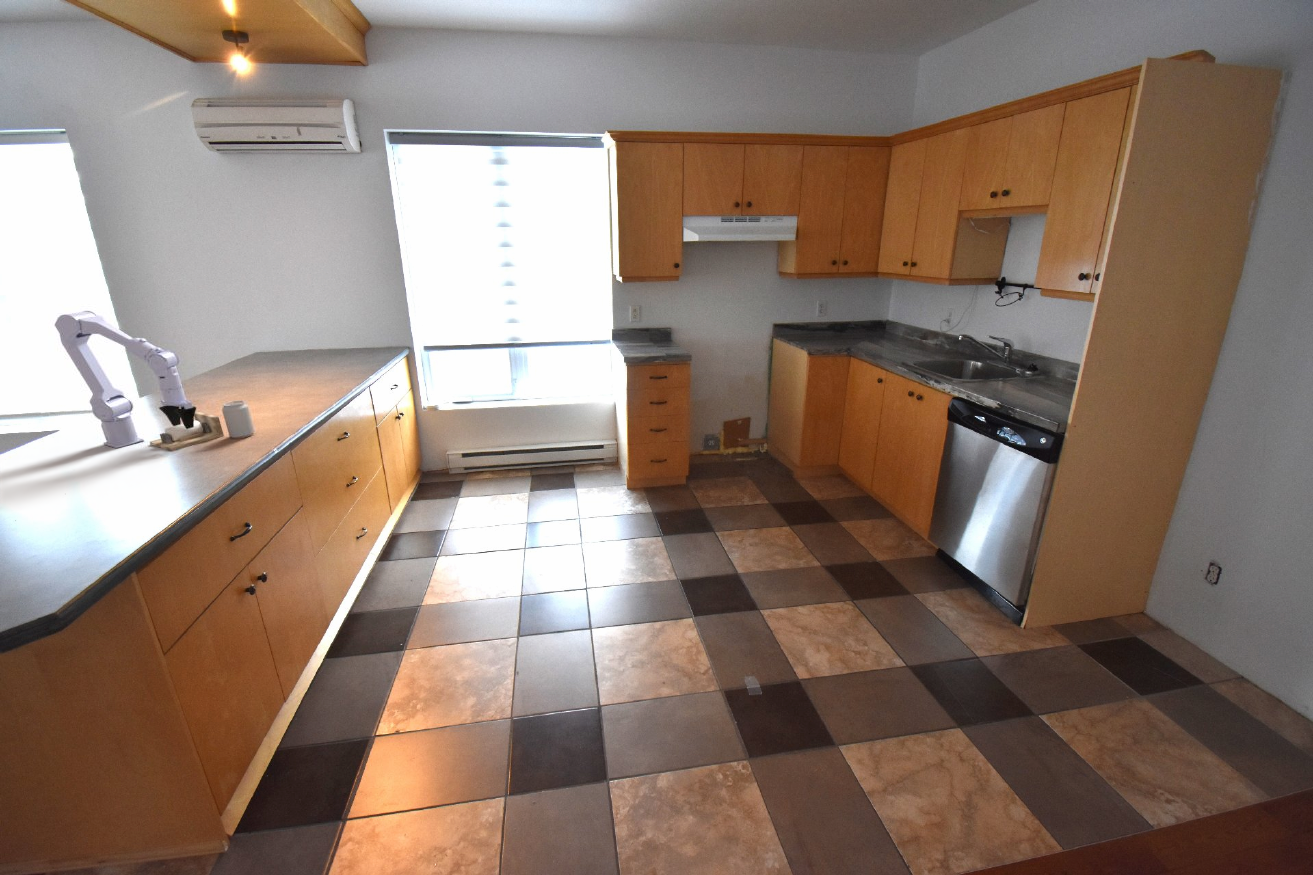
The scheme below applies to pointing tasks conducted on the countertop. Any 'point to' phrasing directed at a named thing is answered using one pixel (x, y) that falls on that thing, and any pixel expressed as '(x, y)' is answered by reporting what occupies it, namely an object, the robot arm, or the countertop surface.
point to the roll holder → (210, 431)
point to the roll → (183, 431)
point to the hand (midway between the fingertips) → (183, 426)
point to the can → (238, 419)
